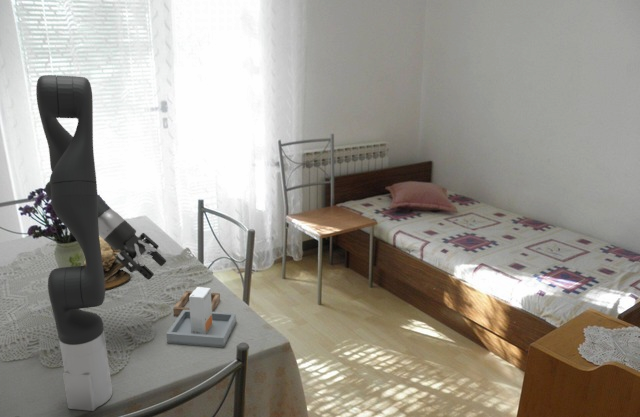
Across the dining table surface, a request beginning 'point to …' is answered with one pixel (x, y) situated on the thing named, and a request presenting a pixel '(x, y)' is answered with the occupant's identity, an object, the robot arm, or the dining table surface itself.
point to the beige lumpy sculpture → (112, 267)
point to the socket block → (181, 303)
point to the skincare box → (200, 310)
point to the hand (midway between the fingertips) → (158, 270)
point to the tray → (213, 337)
